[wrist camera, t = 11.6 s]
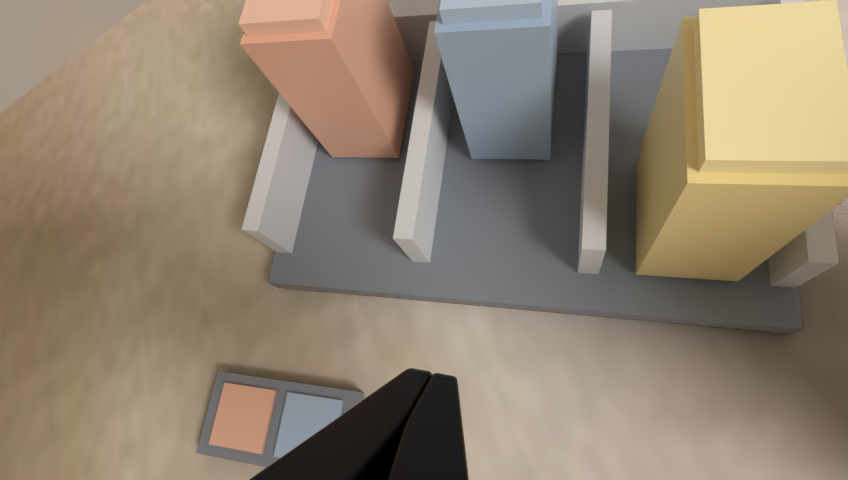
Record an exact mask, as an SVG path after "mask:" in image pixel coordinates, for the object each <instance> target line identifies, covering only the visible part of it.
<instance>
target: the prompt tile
mask: <svg viewBox="0 0 848 480" xmlns="http://www.w3.org/2000/svg"><path fill="white" fill-rule="evenodd" d="M363 393H364V392H358V391H351V390H344V389H337V388H331V387H324V386H317V385H310V384H303V383H296V382H289V381H283V380H276V379H269V378H262V377H255V376H248V375H241V374H235V373H228V372H221V371H218V372H217V376H216V380H215V383H214V387H213V391H212V395H211V399H210V402H209V406H208V410H207V414H206V417H205V421H204V425H203V429H202V433H201V436H200V440H199V444H198V448H197V452H196V453H200V454H205V455H210V456H215V457H220V458H225V459H230V460H235V461H240V462H245V463H250V464H255V465H260V466H265V467H268V466H270V465H271V464H272V463H274V462H275V461H277V460H278V459H280V458H281V457H282V456H284V455H285V454H287V453H288V452H290V451H291V450H292V449H294V448H295V447H297V446H298V445H300V444H301V443H302V442H304V441H305V440H307V439H308V438H310V437H311V436H312V435H314V434H315V433H317V432H318V431H320V430H321V429H322V428H324V427H325V426H327V425H328V424H330V423H331V422H332V421H334V420H335V419H337V418H338V417H340V416H341V415H342V414H344V413H345V412H347V411H348V410H350V409H351V408H352V407H354V406H355V405H357V404H358V403H360V402H361V401H362V399H363Z"/></svg>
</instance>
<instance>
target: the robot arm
mask: <svg viewBox="0 0 848 480" xmlns="http://www.w3.org/2000/svg"><path fill="white" fill-rule="evenodd" d="M250 480H469V478H468V469H467V461H466V452H465V443H464V435H463V426H462V417H461V408H460V400H459V391H458V383H457V379H456V377H454V376H450V375H444V374H439V373H435V374H433V375H432V374H431V373H430V372H429V371H424V370H418V369H413V368H410V369H407V370H405V371H404V372H402V373H401V374H400V375H398V376H397V377H395V378H394V379H392V380H391V381H390V382H388V383H387V384H385V385H384V386H382V387H381V388H380V389H378V390H377V391H375V392H374V393H372V394H371V395H370V396H368V397H367V398H365V399H364V400H362V401H361V402H360V403H358V404H357V405H355V406H354V407H352V408H351V409H350V410H348V411H347V412H345V413H344V414H342V415H341V416H340V417H338V418H337V419H335V420H334V421H332V422H331V423H330V424H328V425H327V426H325V427H324V428H322V429H321V430H320V431H318V432H317V433H315V434H314V435H312V436H311V437H310V438H308V439H307V440H305V441H304V442H302V443H301V444H300V445H298V446H297V447H295V448H294V449H292V450H291V451H290V452H288V453H287V454H285V455H284V456H282V457H281V458H280V459H278V460H277V461H275V462H274V463H272V464H271V465H270V466H268V467H267V468H265V469H264V470H262V471H261V472H260V473H258V474H257V475H255V476H254V477H252V478H251V479H250Z"/></svg>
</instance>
